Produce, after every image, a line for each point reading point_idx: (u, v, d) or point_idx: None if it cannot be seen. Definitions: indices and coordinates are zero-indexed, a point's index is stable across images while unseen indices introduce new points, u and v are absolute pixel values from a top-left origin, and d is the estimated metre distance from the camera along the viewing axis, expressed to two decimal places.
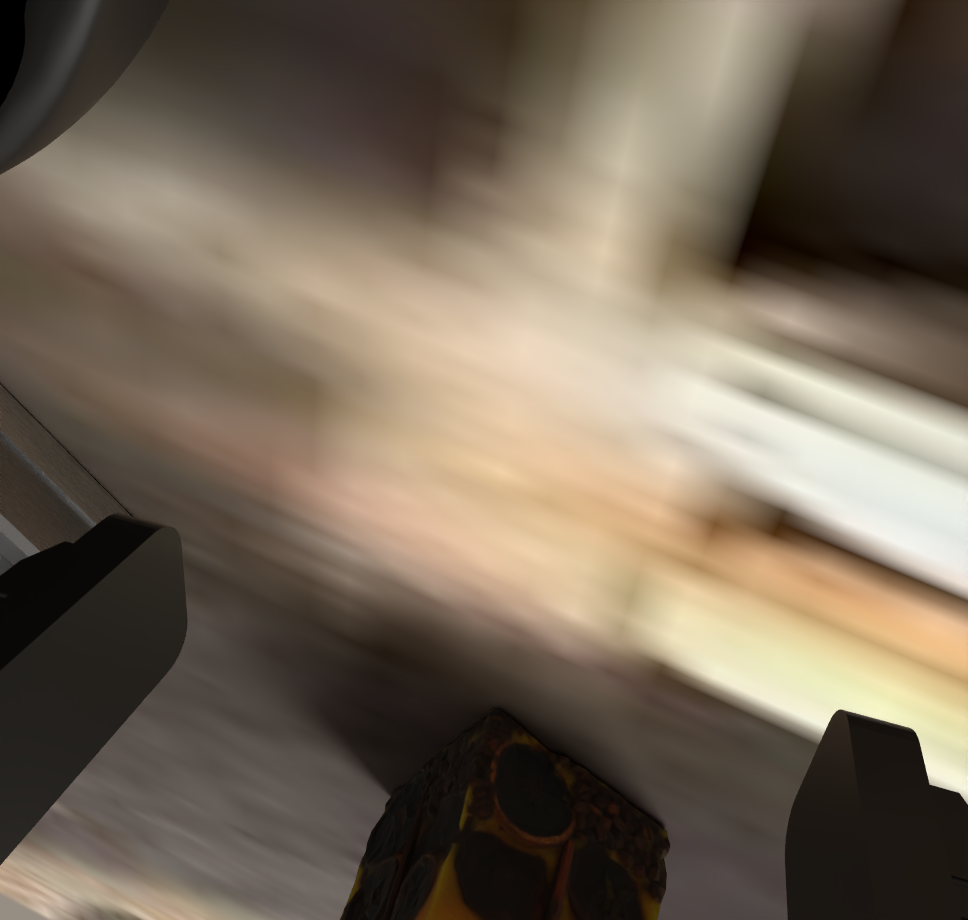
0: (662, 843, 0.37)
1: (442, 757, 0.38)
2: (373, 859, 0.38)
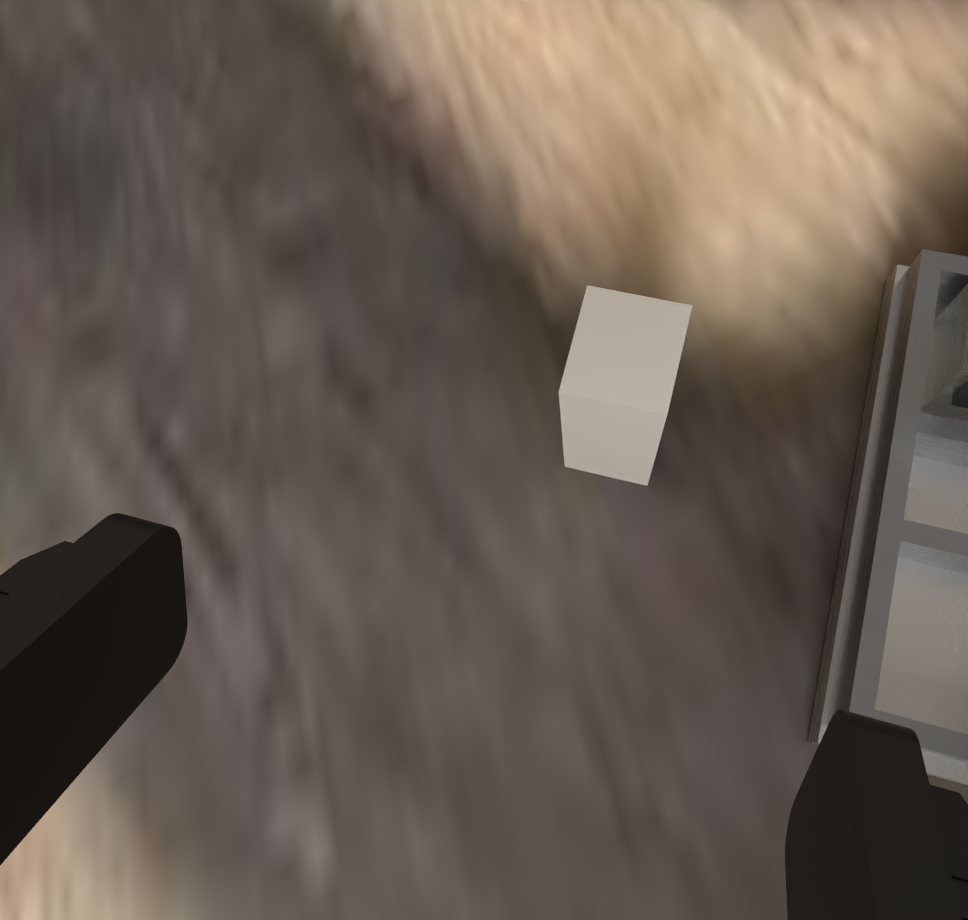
0: None
1: None
2: None
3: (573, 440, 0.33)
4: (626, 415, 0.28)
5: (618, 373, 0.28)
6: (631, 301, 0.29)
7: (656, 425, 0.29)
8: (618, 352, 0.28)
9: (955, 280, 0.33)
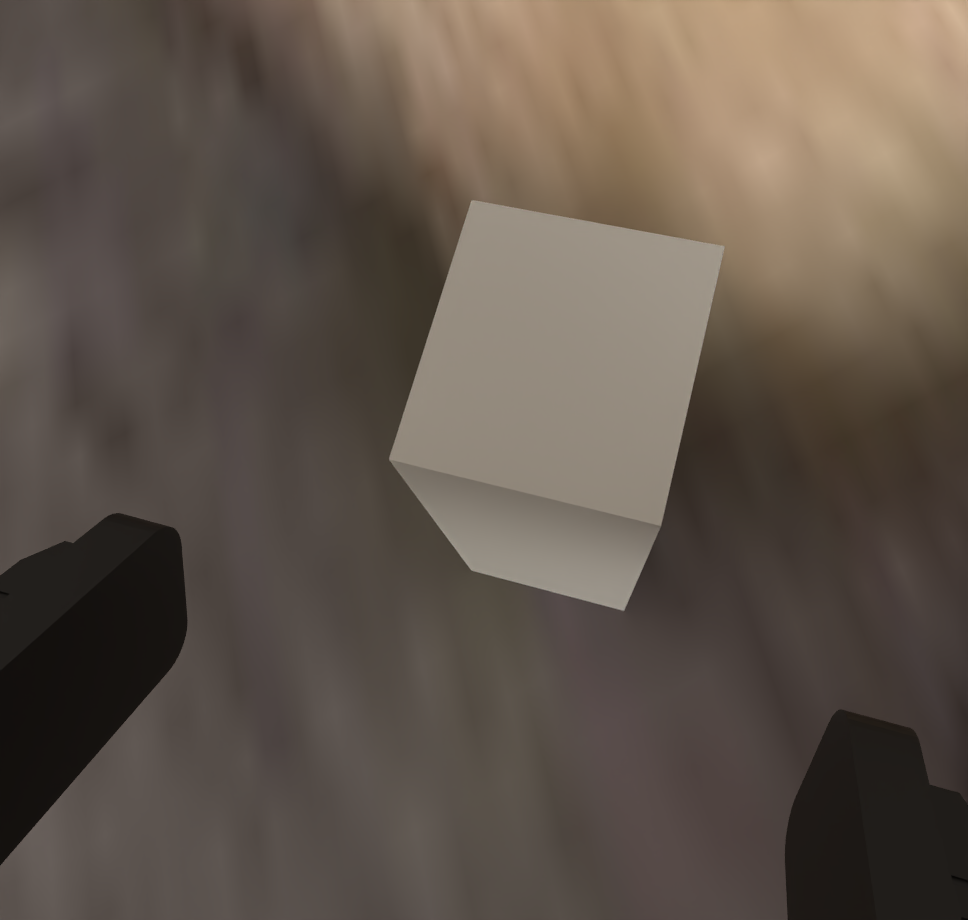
0: None
1: None
2: None
3: (468, 541, 0.16)
4: (560, 515, 0.12)
5: (539, 413, 0.11)
6: (575, 237, 0.12)
7: (633, 539, 0.12)
8: (540, 361, 0.11)
9: None
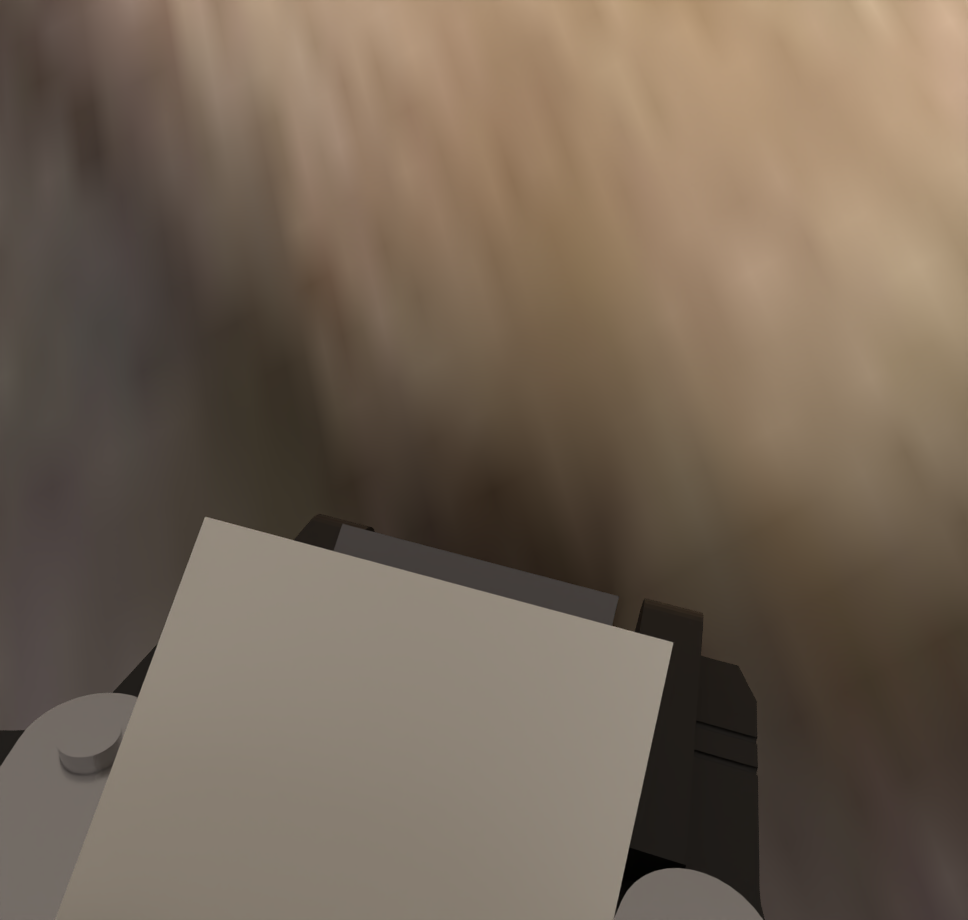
0: None
1: None
2: None
3: None
4: None
5: None
6: (388, 607, 0.06)
7: None
8: (302, 888, 0.06)
9: None
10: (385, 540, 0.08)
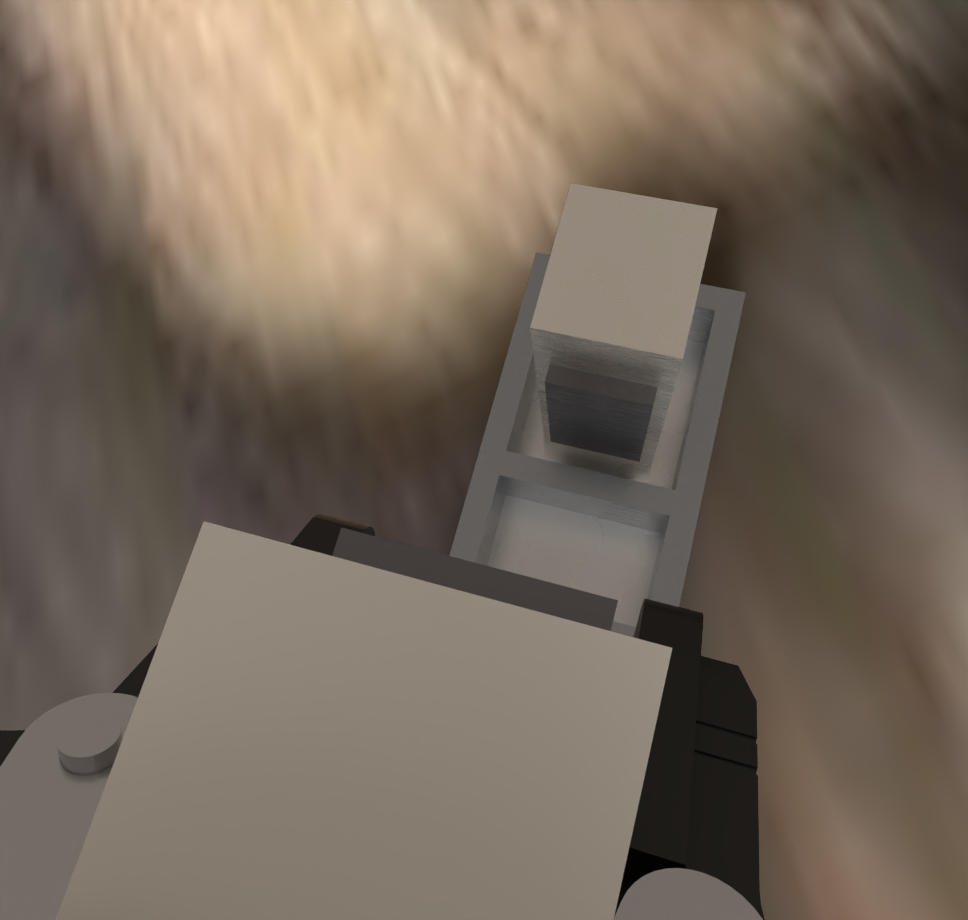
0: None
1: None
2: None
3: None
4: None
5: None
6: (387, 613, 0.06)
7: None
8: (300, 894, 0.06)
9: None
10: (384, 544, 0.08)
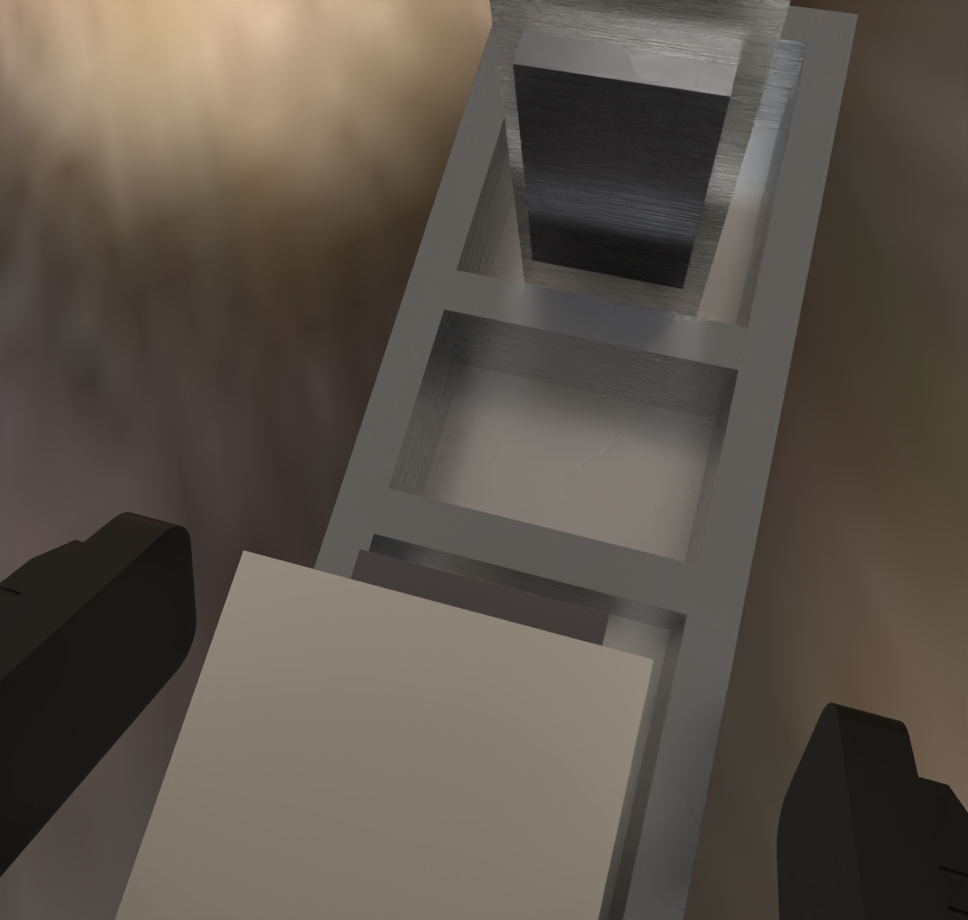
0: None
1: None
2: None
3: None
4: None
5: None
6: (407, 630, 0.07)
7: None
8: (335, 873, 0.07)
9: None
10: (398, 564, 0.09)
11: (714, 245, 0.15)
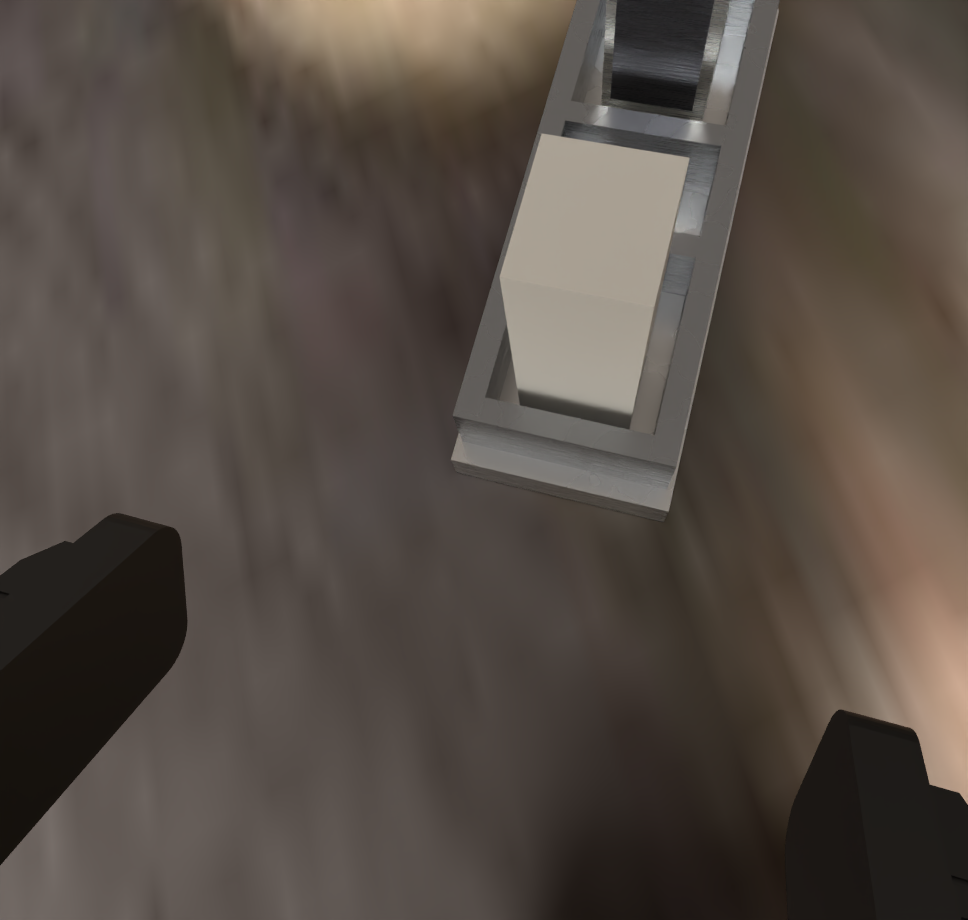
0: None
1: None
2: None
3: (528, 366, 0.24)
4: (595, 312, 0.20)
5: (585, 250, 0.20)
6: (603, 154, 0.20)
7: (638, 328, 0.20)
8: (584, 222, 0.20)
9: None
10: None
11: (709, 84, 0.28)
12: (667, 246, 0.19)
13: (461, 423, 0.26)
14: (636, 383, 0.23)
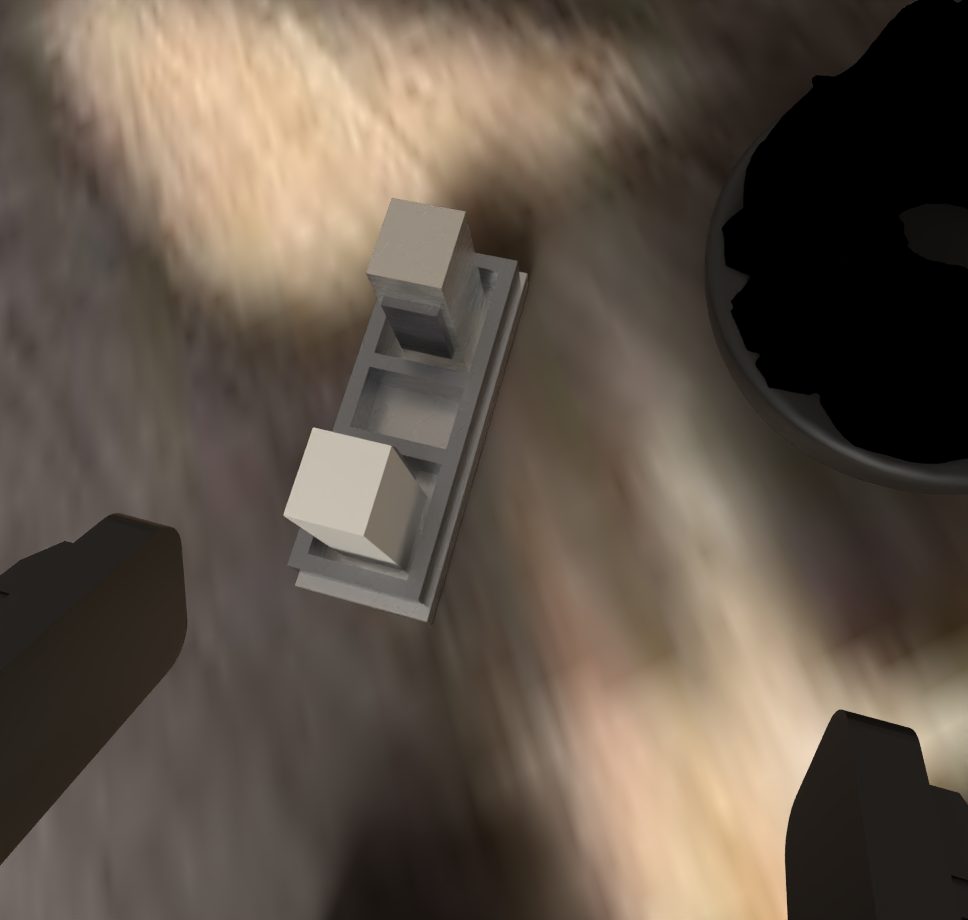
0: None
1: None
2: None
3: (326, 541, 0.40)
4: (339, 532, 0.36)
5: (330, 500, 0.35)
6: (345, 441, 0.36)
7: (364, 540, 0.36)
8: (331, 483, 0.36)
9: None
10: None
11: (458, 345, 0.44)
12: (374, 499, 0.35)
13: (294, 568, 0.42)
14: (386, 555, 0.39)
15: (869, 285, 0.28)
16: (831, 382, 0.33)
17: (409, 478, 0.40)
